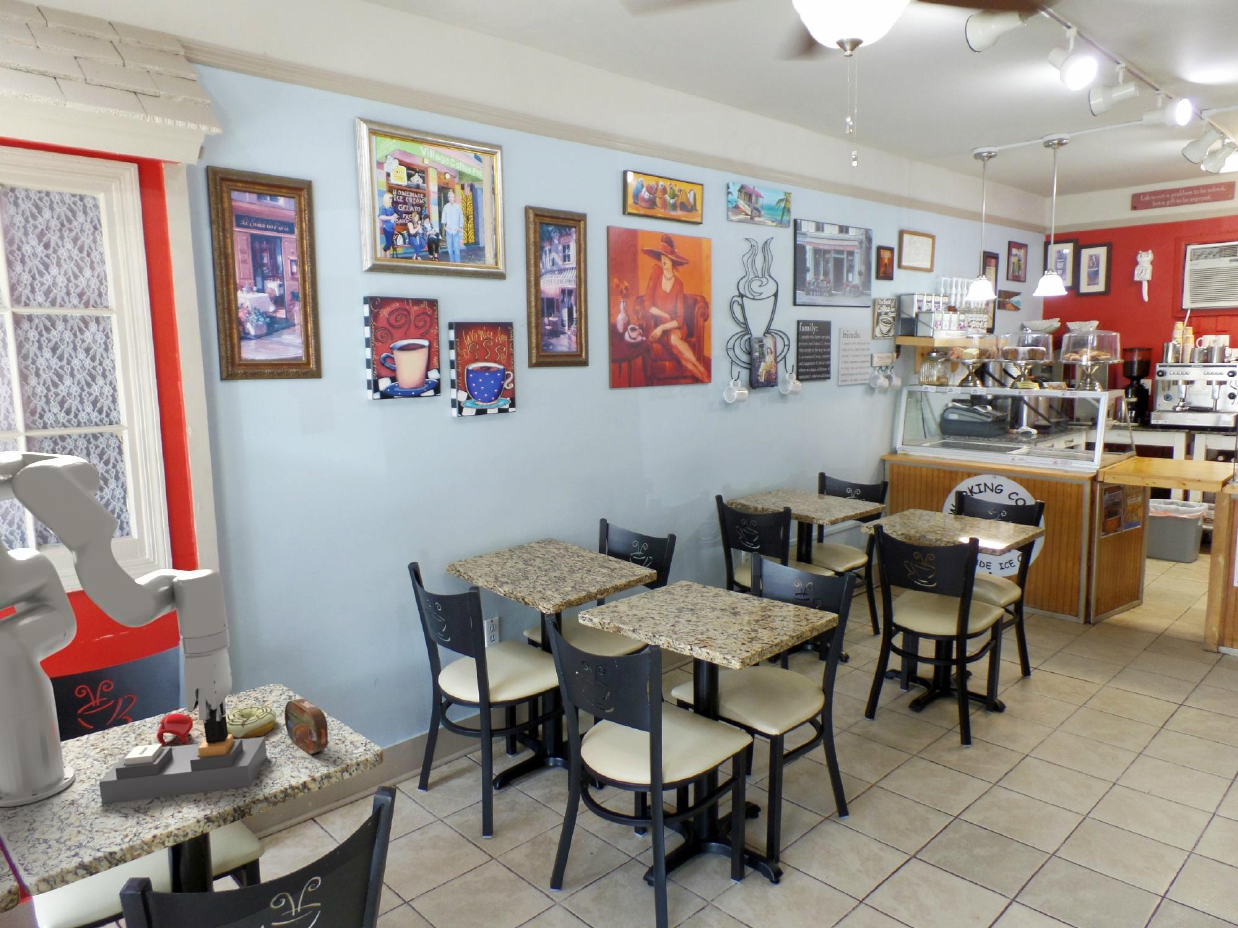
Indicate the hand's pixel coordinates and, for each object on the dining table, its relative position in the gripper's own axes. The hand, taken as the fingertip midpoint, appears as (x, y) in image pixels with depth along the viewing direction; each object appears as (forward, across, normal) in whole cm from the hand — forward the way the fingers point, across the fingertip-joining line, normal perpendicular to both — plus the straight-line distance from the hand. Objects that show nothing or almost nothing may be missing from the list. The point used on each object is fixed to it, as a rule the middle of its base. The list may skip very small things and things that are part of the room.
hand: (217, 739), depth 143 cm
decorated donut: (+8, -21, -1) cm, 23 cm away
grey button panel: (+8, -2, -6) cm, 10 cm away
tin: (+8, -11, +12) cm, 18 cm away
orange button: (+2, 0, 0) cm, 3 cm away
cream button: (+3, 0, -12) cm, 13 cm away
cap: (+8, -19, -14) cm, 25 cm away
